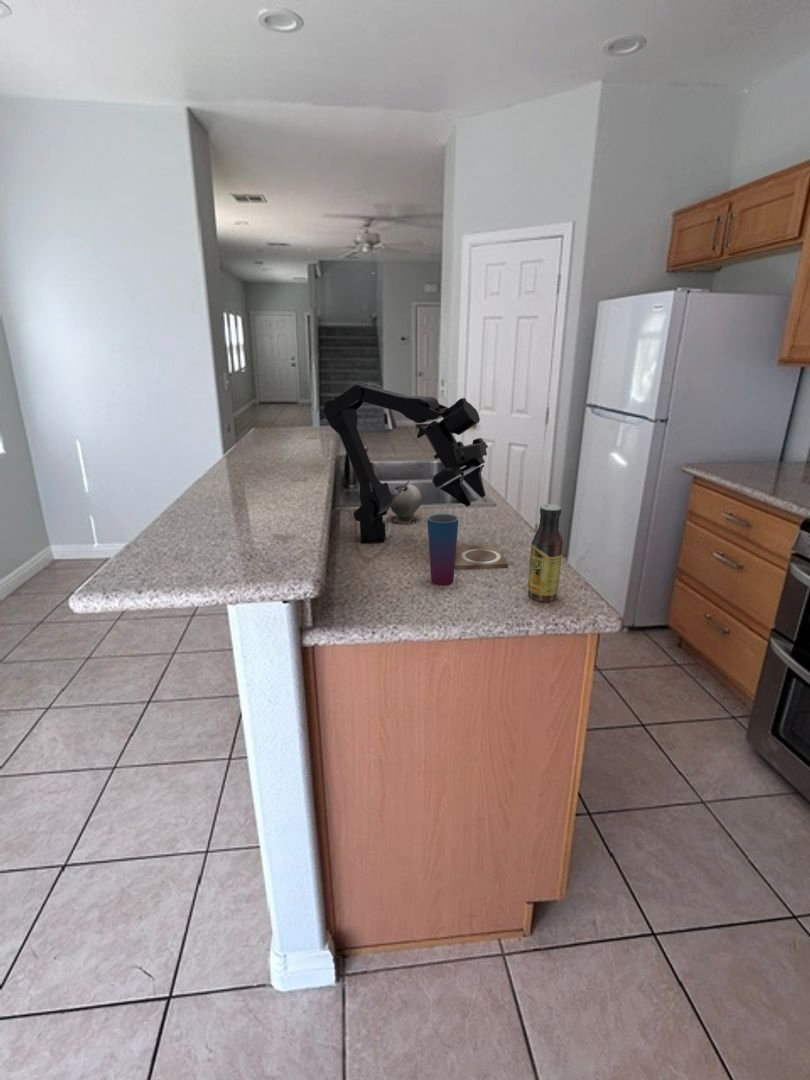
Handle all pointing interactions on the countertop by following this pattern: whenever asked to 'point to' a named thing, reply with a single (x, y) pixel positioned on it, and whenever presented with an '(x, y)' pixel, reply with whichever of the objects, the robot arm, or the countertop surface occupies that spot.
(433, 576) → the cup
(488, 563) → the board
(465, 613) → the countertop surface
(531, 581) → the sauce bottle
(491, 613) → the countertop surface
